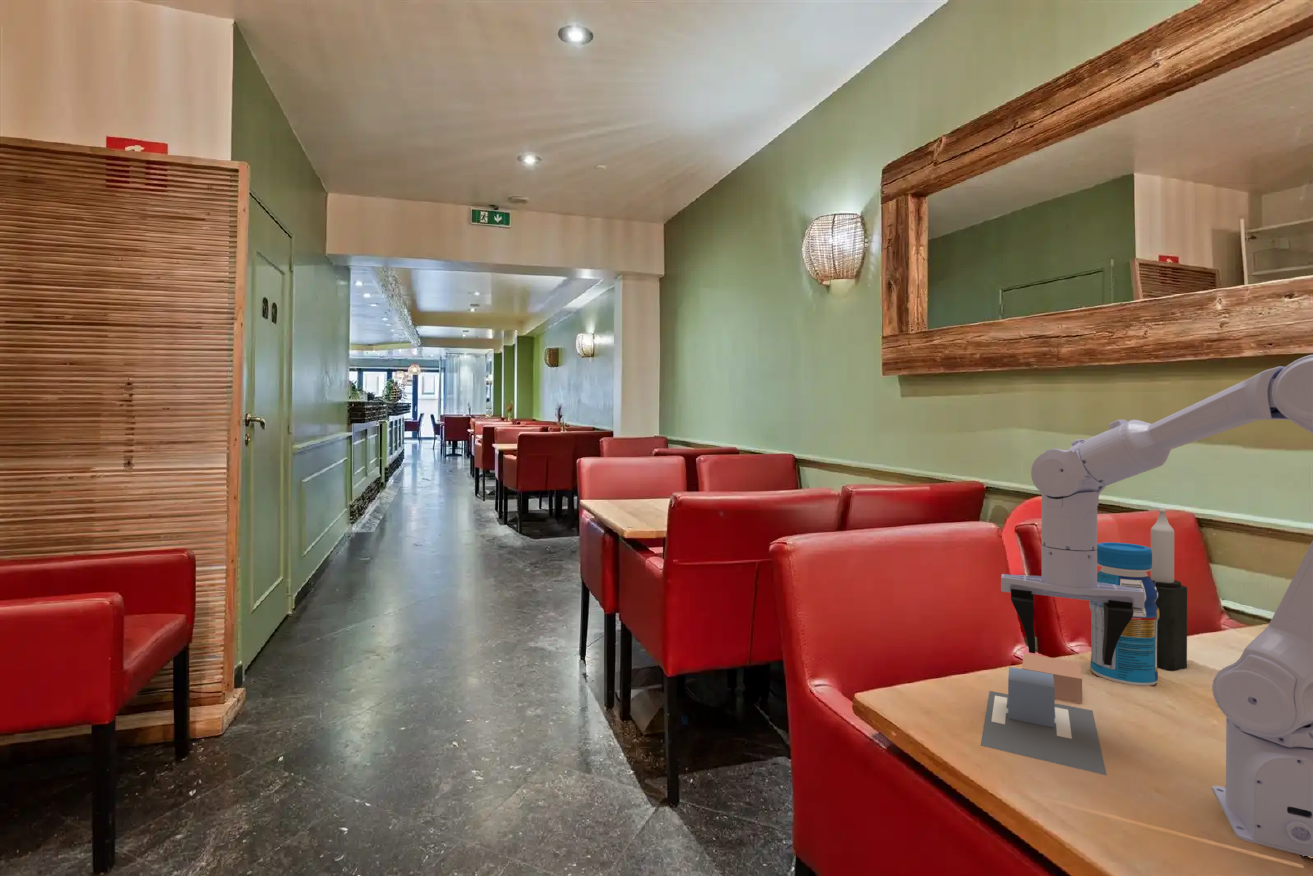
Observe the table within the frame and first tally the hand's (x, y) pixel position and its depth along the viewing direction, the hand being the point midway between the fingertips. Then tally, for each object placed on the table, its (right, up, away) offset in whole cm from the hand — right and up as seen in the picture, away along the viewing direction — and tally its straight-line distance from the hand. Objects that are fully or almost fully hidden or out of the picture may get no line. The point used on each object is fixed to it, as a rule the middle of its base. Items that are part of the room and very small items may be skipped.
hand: (1068, 656), depth 76 cm
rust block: (+6, -10, +12) cm, 16 cm away
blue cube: (-2, -9, +4) cm, 10 cm away
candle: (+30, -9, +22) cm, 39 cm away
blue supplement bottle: (+20, -10, +17) cm, 28 cm away
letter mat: (-3, -9, +1) cm, 10 cm away
